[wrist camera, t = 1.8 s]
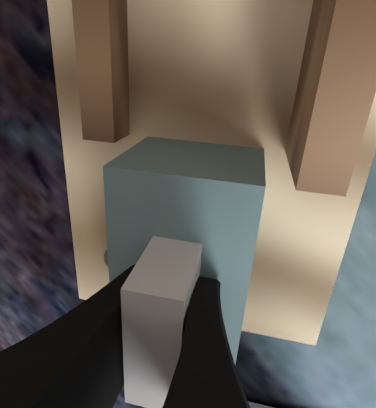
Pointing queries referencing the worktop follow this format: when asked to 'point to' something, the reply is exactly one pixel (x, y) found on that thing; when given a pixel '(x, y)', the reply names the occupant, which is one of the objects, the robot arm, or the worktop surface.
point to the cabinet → (178, 246)
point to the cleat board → (228, 124)
